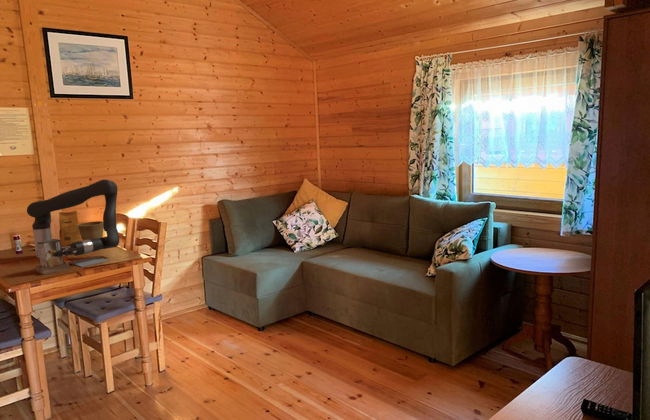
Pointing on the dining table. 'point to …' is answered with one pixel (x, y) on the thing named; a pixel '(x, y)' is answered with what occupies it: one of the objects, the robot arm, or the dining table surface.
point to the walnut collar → (52, 268)
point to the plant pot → (91, 230)
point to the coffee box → (50, 253)
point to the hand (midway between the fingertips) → (51, 253)
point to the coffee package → (69, 228)
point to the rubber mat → (88, 261)
